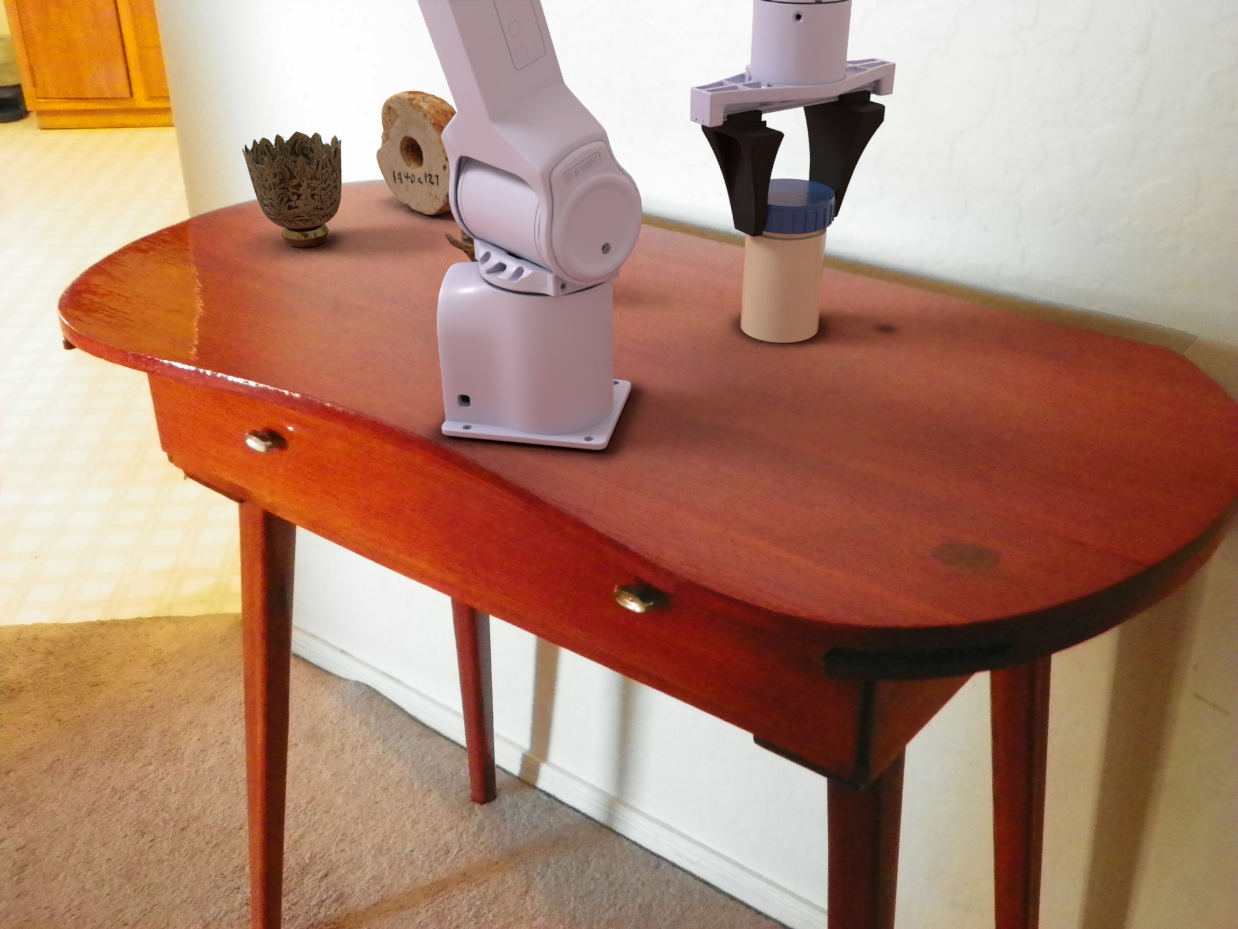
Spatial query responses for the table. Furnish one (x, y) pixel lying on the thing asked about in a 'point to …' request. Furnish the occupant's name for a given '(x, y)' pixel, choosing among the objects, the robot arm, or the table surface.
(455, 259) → the table surface
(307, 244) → the cup
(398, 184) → the stone disc
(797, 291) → the jar
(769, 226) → the lid
